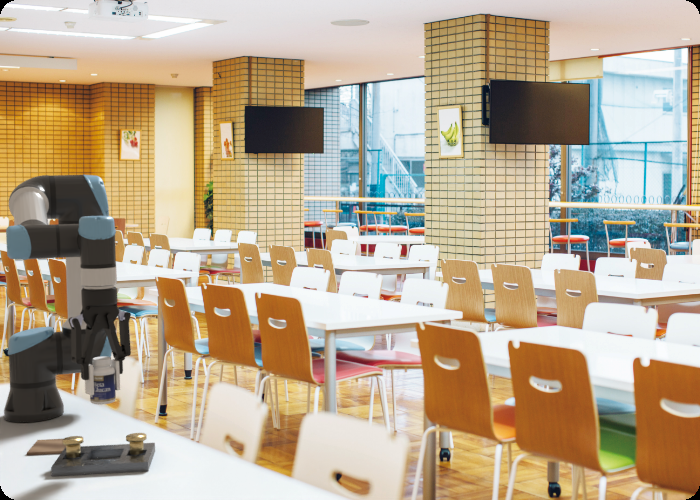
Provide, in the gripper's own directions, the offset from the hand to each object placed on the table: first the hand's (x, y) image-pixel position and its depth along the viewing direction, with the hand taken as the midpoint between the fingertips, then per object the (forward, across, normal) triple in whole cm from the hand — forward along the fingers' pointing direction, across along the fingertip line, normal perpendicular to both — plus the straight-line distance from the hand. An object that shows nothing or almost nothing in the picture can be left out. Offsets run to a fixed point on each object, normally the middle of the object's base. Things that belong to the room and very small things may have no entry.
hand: (102, 391), depth 184 cm
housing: (+16, 0, 0) cm, 16 cm away
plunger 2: (+14, -6, +4) cm, 16 cm away
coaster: (+16, +4, -19) cm, 25 cm away
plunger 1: (+14, +6, -4) cm, 16 cm away
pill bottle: (+2, 0, 0) cm, 2 cm away
